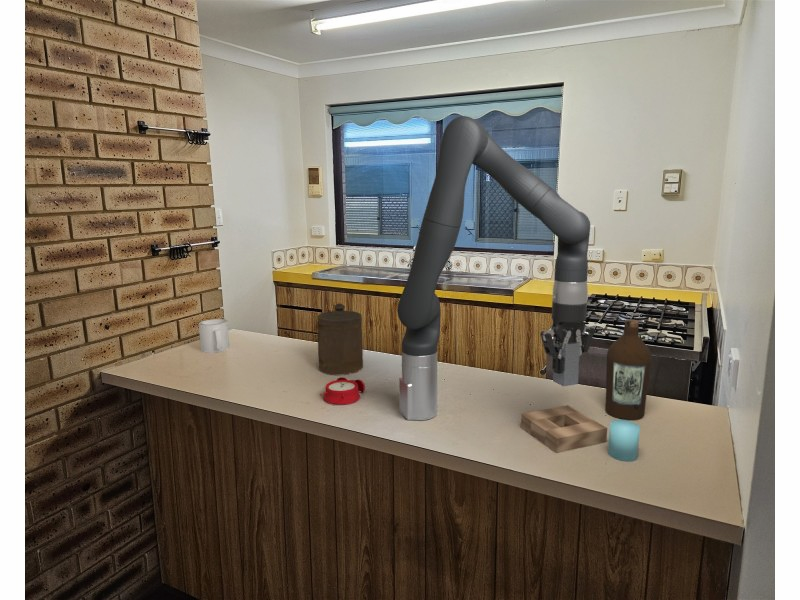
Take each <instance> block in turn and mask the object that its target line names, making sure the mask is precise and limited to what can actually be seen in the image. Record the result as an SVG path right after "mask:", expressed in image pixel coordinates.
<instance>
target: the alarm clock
mask: <svg viewBox="0 0 800 600" xmlns="http://www.w3.org/2000/svg"><path fill="white" fill-rule="evenodd" d="M365 390H366V384H365V382H364V381H363V380H362V379H348V378H346V377H344V376H342V377H341V376H339V377H338V378H337V379H336V380H332V381H329V382H328V383H326V384H325V392H323V393H320V394H319V395H320V396H322V395H323V400H324V402H325V403H328V404H330V405H331V404H335V405H336V404H337V405H338V404H339V405H341V406H342V405H349V404H353V403H356V402H358V401H359V400H360V399H361V394H363V393H364V392H365ZM359 391H361V392H359ZM360 393H361V394H360ZM337 405H336V406H337Z"/></svg>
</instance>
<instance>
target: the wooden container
mask: <svg viewBox="0 0 800 600" xmlns="http://www.w3.org/2000/svg"><path fill="white" fill-rule="evenodd" d="M333 308H334V310H333V311H324V312H322V313H320V314H318V315H317V351H318V353H317V355H318V358H317V359H318V370H319V371H320V372H321V373H325V374H329V375H333V374H344V375H350V374H349V373H351V374H354V372H355V373H357V372H359V370H360V371H361V370H362V369H363V368H364V358H363V357H364V353H363V352H364V349H363V346H364V345H363V330H362V329H363V328H362V324H363V323H362V322H363V319H362V318H363V316H362V314H361V313H360V312H358V311H352V310H345V308H346V307H345V305H344V304H343V303H336V304H334V307H333Z"/></svg>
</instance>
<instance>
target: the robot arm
mask: <svg viewBox="0 0 800 600" xmlns="http://www.w3.org/2000/svg"><path fill="white" fill-rule="evenodd" d="M439 150H440V151H439V156H438V162H437V169H436V172H435V176H434V180H433V184H432V187H431V190H430V193H429V197H428V200H427V204H426V207H425V211H424V214H423V218H422V220H421V224H420V228H419V232H418V237H417V242H416V246H415V249H414V253H413V257H412V258H413V259H412V262H411V268H410V270H409V274H408V277H407V279H406V282H405V284H404V287H403V290H402V293H401V295H400V298H399V300H398V303H397V308H396V309H397V316H398V319H399V321H400V323H401V324H402V326H404V327H405V328H406V329H405V331H404V332H405V333H404V336H403V338H402V341H401V377H399V380H398V381H399V386H398V388H399V390H398V391H399V392H398V393H399V394H398V395H399V413H400V414H401V415H402V416H403V417H404V418H405V419H406V420H407V421H411V420H412V421H425V420H430V419H433V418H435V417H436V416H437V415H438V347H439V345H438V344H439V341H440V337H441V336H440V335H441V314H442V310H441V303H440V299H439V297H438V295H437V294H436V288H437V285H438V283H439V282H438V281H439V278H440V276H441V275H442V272H443V271H444V268H445V267H446V264H447V263H448V261H449V259H450V257H451V256H452V253H453V251H454V249H455V246H456V244H457V241H458V237H459V233H460V230H461V226H462V222H463V218H464V209H465V208H464V207H465V191H466V186H467V185H466V184H467V180H468V176H469V174H470V171H471V167H472V165H473V166H475V167H477V168H479V169H480V170H482V171H483V172H485V173H486V174H487V175H489V176H490V177H491V179H493V180H495V182H497V183H498V185H499V186H501V188H503V190H504V191H505V192H506V193H507V194H508V196H510V197H511V198H512V199H514V201H515V202H516V203H518V204H519V205H520V206H521V207H523V208H524V209H525V210H526V211H528V212H529V213H530V214H531V215H533V216H534V217H535V218H536V219H539V221H541V223H542V224H543V225H544V226H545V227H547V229H548V230H549V231H550V232H552V233H553V234H554V235H555V236H556V237H557V255H556V258H555V265H554V281H553V285H552V286H553V287H552V301H551V304H552V305H551V319H552V324H551V327H550V329H549V330H547V331H540V337H541V343H542V345H543V348H544V352H545V355H547V356H549V357H551V358H552V367H551V368H552V371H553V370H554V372H555V373H557V374H561V373H562V357H563V350H564V349H565V344H568V343H571V342H577V343H578V342H580V356H579V367H580V364H581V363H580V362H581V356H582V354H583V353H585V354H586V353H588V351H589V349H590V346H591V343H592V340H593V336H594V334H595V330H596V329H594V327H591V326H587V325H585V322H586V321H587V307H588V293H589V292H588V271H589V270H588V269H589V261H588V260H589V259H588V251H589V243H590V233H591V221H590V219H589V217H588V216H587V214H586V213H584V212H582V211H579V210H578V209H577V208H575V207H574V206H573V205H572V204H570V203H569V202H568V201H566V200H565V199H563V197H561V195H560V194H559V193H558V192H557V191H556V190H555V189H553V188H552V187H551V186H550V185H549V184H547V182H546V181H544V180H542V178H540V177H539V176H537V175H536V174H535V173H533V171H531V170H529V169H528V168H527V167H525V166H524V165H523V164H521V163H520V162H518V161H517V160H516V159H515V158H513V157H512V156H511V155H509V154H508V153H507V152H506V151H505V150H504V149H503V148H502V147H501V145H499V144H498V143H497V142H496V140H495V139H494V138H493V137H492V135H490V134H489V132H488V131H487V130H486V128H485V126H484V125H483V124H482V123H481V122H479V121H478V120H476V119H474V118H472V117H470V116H466V115H462V116H457V117H455V118H453V119H452V120H450V122H448V124H447V125H446V127H445V128H444V131H443V134H442V138H441V144H440V149H439ZM557 341H558V342H560V343H562V344H561V345H560V344H558V343H557ZM558 348H559V350H558Z"/></svg>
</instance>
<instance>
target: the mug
mask: <svg viewBox="0 0 800 600" xmlns="http://www.w3.org/2000/svg"><path fill="white" fill-rule="evenodd" d="M228 327H229V325H228V320H227V319H226V318H225V319H223V318H212V319H205V320H201V321H200V322H198V331H199V341H200V342H199V344H200V351H202V352H201V353H203V352H205V354H215V353H214V352H219V353H221V352H220V351H224V350H226V349H228V348H229V349H230V338H229V328H228ZM229 349H228V350H229ZM226 351H227V350H226ZM224 352H225V351H224Z"/></svg>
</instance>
